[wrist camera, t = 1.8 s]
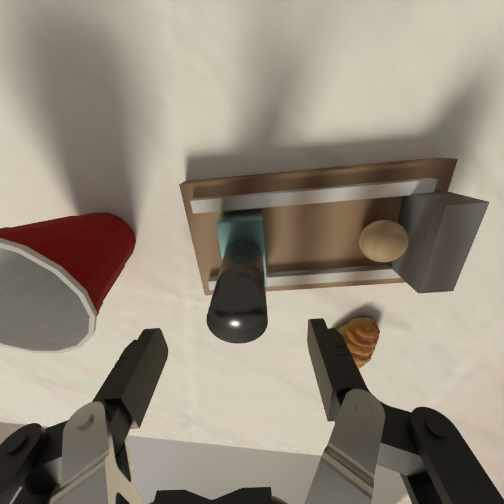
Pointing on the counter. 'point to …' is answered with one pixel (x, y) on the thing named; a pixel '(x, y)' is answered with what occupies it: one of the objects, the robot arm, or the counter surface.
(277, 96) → the counter surface
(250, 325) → the jaw
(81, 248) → the plastic cup
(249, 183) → the base
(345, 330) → the pastry
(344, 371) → the robot arm
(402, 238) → the walnut
